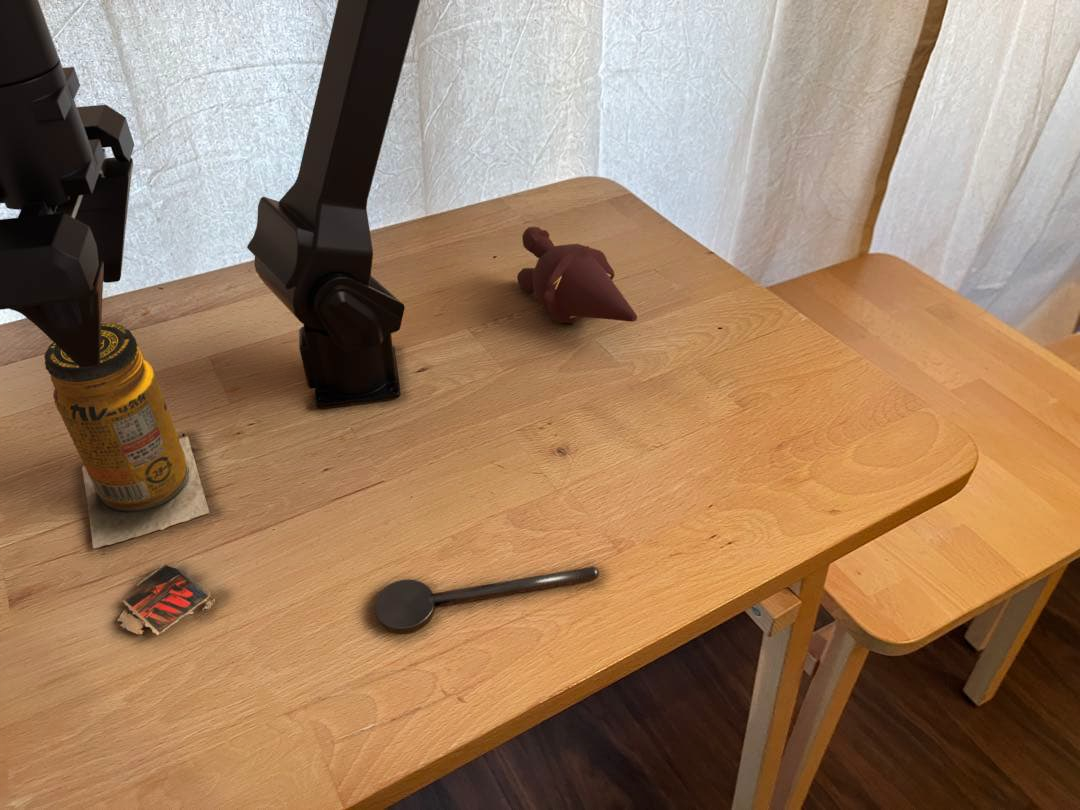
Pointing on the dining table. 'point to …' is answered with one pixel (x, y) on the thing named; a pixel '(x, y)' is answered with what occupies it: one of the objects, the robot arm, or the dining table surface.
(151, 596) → the torn cardboard piece
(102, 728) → the dining table surface
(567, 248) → the brown gnome figurine
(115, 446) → the condiment
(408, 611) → the steel spoon
